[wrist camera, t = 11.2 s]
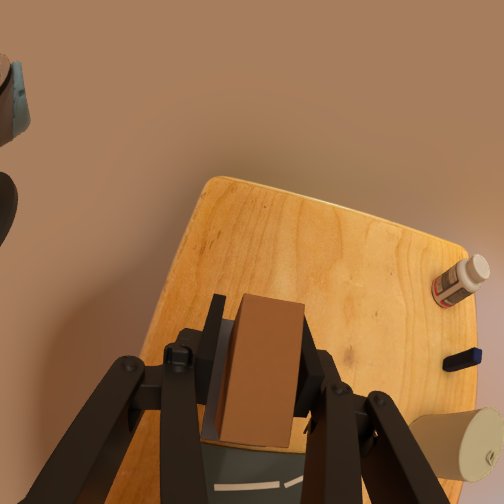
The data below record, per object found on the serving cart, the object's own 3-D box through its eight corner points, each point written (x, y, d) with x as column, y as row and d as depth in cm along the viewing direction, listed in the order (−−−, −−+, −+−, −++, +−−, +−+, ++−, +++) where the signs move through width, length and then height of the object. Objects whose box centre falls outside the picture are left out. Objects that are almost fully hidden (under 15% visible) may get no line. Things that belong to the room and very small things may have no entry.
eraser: (452, 360, 35) (483, 349, 29) (450, 373, 34) (482, 364, 28) (443, 356, 35) (474, 345, 30) (441, 370, 34) (473, 360, 28)
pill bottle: (457, 296, 41) (496, 270, 32) (444, 315, 39) (486, 290, 30) (439, 272, 43) (476, 243, 34) (425, 289, 41) (465, 261, 32)
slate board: (183, 527, 21) (182, 531, 20) (197, 441, 27) (197, 442, 26) (319, 535, 22) (322, 537, 21) (335, 453, 28) (339, 454, 27)
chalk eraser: (200, 434, 17) (196, 461, 9) (219, 327, 21) (230, 267, 13) (258, 442, 17) (303, 472, 9) (273, 336, 21) (322, 284, 13)
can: (416, 486, 25) (477, 496, 15) (387, 449, 28) (450, 454, 18) (454, 440, 29) (514, 435, 18) (428, 401, 32) (491, 389, 21)
